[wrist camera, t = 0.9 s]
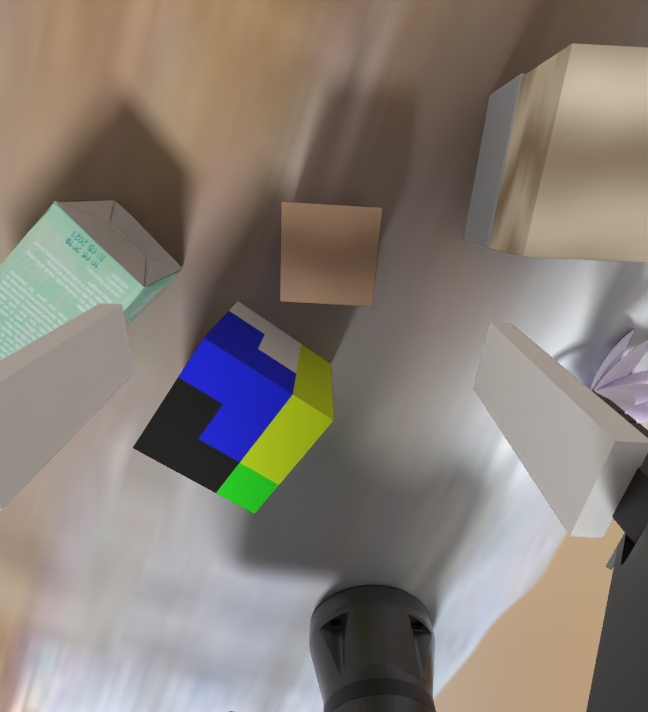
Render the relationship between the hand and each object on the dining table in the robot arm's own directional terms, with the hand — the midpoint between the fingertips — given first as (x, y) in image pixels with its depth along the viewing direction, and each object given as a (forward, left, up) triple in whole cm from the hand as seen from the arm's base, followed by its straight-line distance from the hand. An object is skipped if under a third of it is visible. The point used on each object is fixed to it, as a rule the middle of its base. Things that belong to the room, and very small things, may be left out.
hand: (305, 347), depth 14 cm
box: (-3, +18, -20) cm, 27 cm away
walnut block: (+2, -1, -19) cm, 19 cm away
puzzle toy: (-10, +5, -20) cm, 22 cm away
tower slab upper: (+8, -17, -14) cm, 24 cm away
